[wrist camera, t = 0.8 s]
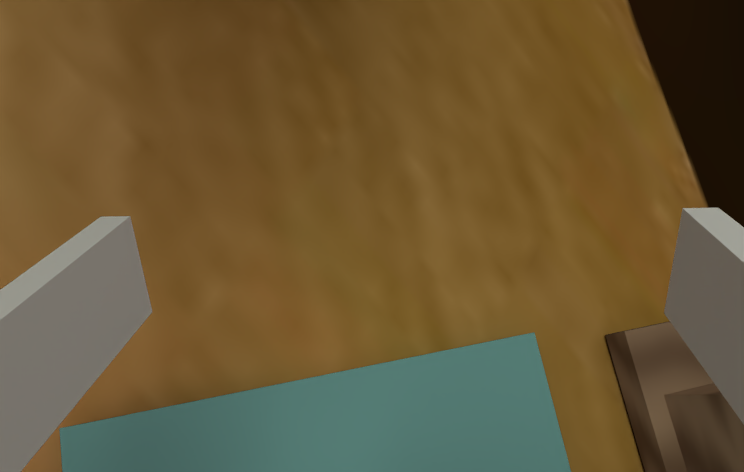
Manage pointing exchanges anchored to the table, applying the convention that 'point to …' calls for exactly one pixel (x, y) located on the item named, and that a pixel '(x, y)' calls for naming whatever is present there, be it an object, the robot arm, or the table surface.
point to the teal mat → (350, 422)
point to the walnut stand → (674, 404)
